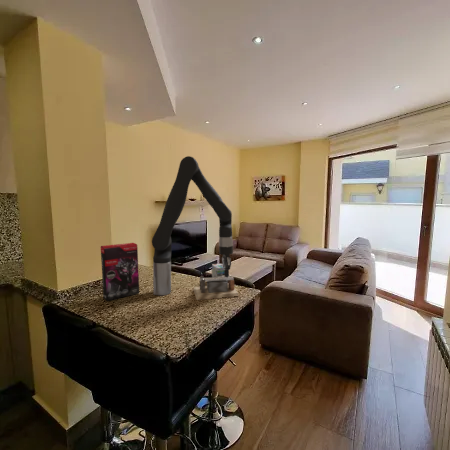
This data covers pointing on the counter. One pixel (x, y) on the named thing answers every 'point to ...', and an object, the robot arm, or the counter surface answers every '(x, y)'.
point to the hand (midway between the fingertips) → (226, 276)
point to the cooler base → (213, 295)
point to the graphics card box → (119, 270)
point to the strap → (218, 278)
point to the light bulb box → (217, 270)
